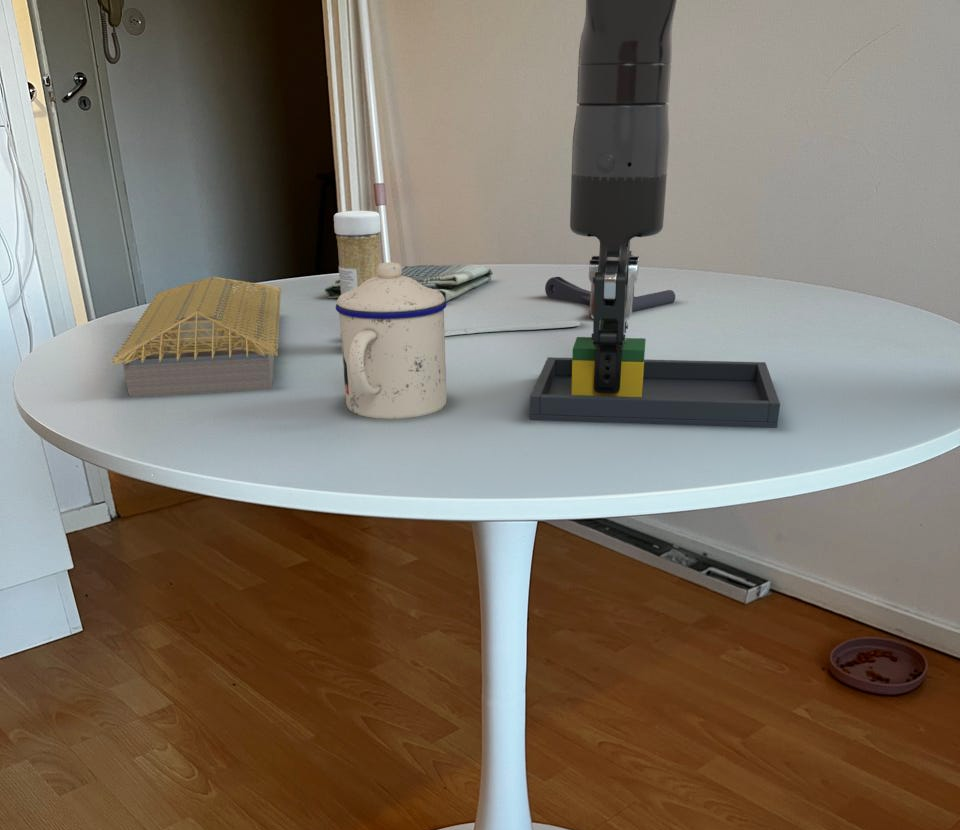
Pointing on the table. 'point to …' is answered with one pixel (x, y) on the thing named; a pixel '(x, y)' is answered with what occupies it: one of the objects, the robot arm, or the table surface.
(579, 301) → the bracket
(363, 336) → the teacup with lid
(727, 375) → the tray
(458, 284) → the dish towel
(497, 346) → the table surface
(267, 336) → the rafter model
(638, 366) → the sponge
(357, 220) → the sprinkles bottle
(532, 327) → the butter knife
